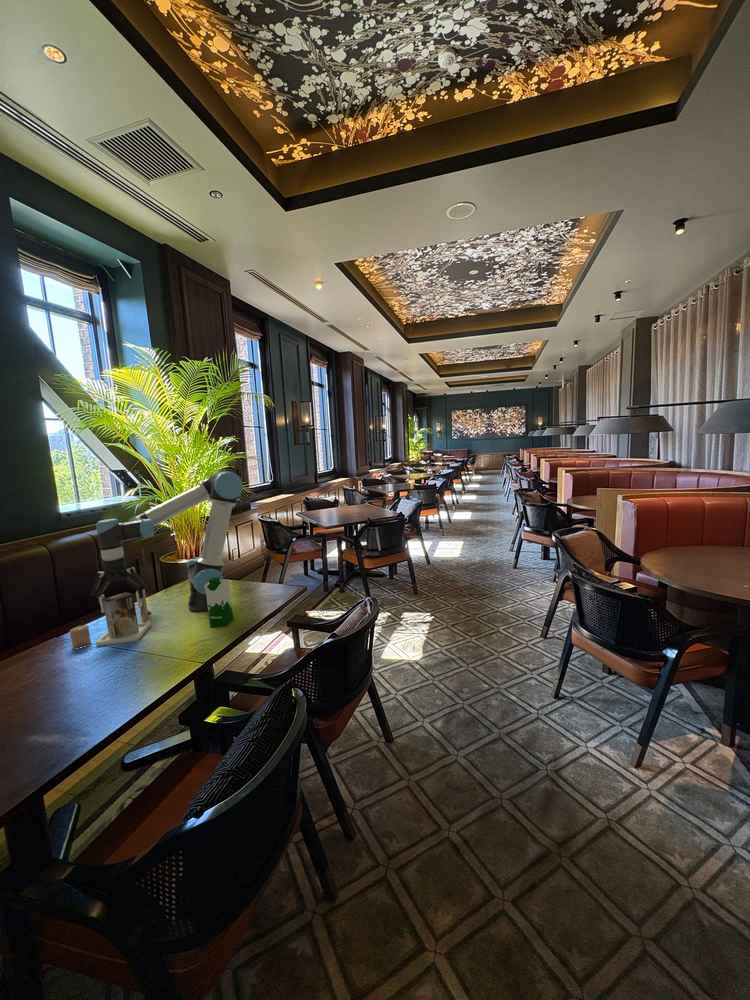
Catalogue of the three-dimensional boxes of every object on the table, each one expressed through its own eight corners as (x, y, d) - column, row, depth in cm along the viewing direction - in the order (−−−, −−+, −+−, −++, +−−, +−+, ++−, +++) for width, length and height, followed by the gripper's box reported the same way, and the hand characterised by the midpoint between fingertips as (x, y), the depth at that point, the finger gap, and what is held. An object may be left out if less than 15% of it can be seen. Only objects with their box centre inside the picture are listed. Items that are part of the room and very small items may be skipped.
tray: (151, 625, 179) (150, 621, 179) (137, 641, 164) (137, 636, 164) (113, 630, 177) (112, 626, 176) (96, 646, 162) (95, 642, 162)
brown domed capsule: (94, 641, 167) (91, 624, 166) (86, 648, 161) (83, 630, 160) (77, 643, 166) (74, 626, 165) (69, 650, 160) (66, 632, 159)
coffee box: (132, 628, 176) (126, 591, 174) (139, 631, 172) (133, 593, 170) (108, 637, 168) (102, 598, 166) (115, 640, 165) (109, 601, 163)
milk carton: (206, 628, 172) (201, 581, 169) (217, 619, 181) (211, 574, 178) (227, 627, 171) (221, 580, 168) (236, 618, 180) (231, 573, 177)
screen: (150, 611, 196) (146, 582, 194) (150, 624, 180) (145, 593, 178) (140, 613, 194) (136, 584, 192) (139, 627, 178) (135, 595, 176)
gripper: (150, 551, 172) (158, 600, 175) (83, 559, 168) (93, 609, 171) (143, 556, 164) (152, 607, 167) (73, 564, 161) (84, 617, 164)
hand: (122, 608), depth 169 cm, fingers open, 13 cm apart
